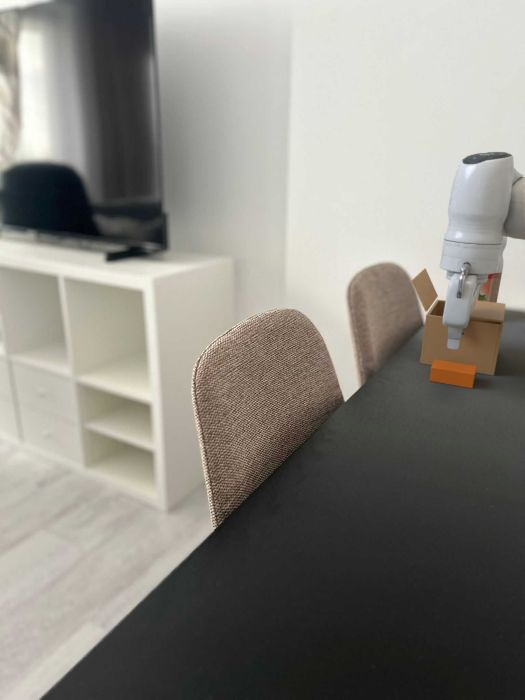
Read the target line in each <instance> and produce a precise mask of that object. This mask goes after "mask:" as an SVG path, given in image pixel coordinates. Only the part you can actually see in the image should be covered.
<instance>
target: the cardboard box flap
mask: <svg viewBox="0 0 525 700" xmlns="http://www.w3.org/2000/svg"><path fill="white" fill-rule="evenodd" d="M411 283H412V285H413V287H414V289H415V292H416V294H417V296H418V298H419V300H420V303H421V306H422V308H423V309H424V312H429V310H430V309H431V308H432V306H433V305H434V303H435V302H436V300H437V298H438V297H439V296H438V293H437V291H436V288H435V286H434V284H433V281H432V279H431V277H430V275H429V273H428V270H427V268H423V269H422V270H421V271H420V272H419V273H418V274H417V275H416V276H414V278H412V279H411Z"/></svg>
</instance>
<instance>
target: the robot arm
mask: <svg viewBox="0 0 525 700" xmlns="http://www.w3.org/2000/svg"><path fill="white" fill-rule="evenodd" d="M514 163H515V162H514V155H513V154H511V153H509V152H505V151H489V152H488V151H487V152H479V153H473V154H470V155H467V156H466V157H464V158H462V159H461V160H460V162H459V164H458V166H457V168H456V171H455V174H454V178H453V181H452V185H451V190H450V195H449V199H448V206H447V215H448V224H447V229H446V231H445V233H444V235H443V241H442V248H441V254H440V260H439V261H440V262H439V268H440V269H441V270H444V271H446V276H445V278H446V280H449V283H448V286H447V292H446V297H445V301H446V302H445V308H444V314H443V325H444V326H447V327H448V343H447V347H448V348H449V349H454V350H457V349H458V348H459V345H460V340H461V335H463V334H464V333H465V329H466V327H467V325H468V322H469V320H470V317H471V315H472V312H473V310H474V307H475V305H476V302H477V300H478V297H479V294H480V291H481V288H482V284H483V283H486V282H487V279H488V278H487V277H488V274H495V273H497V271H498V265H499V260H500V255H501V249H502V244H503V236H505V237H507V238H511V239H515V240H523V241H525V175H524V174H522V173H521V172H520V171H518V170H517V169H516V167H514V166H515V165H514Z"/></svg>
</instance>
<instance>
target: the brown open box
mask: <svg viewBox="0 0 525 700" xmlns="http://www.w3.org/2000/svg"><path fill="white" fill-rule="evenodd" d="M445 302H446V300H443V299H436V300H435V301H434V302H433V304H432V305H431V307H430V308H429V309H428V311H427V313H426V315H425V319H424V320H425V321H424V328H423V335H422V343H421V351H420V358H419V364H421V365H422V364H423V365H428V366H432V365H433V363H434V361H435V359H436V360H443V361H449V362H455V363H461V364H467V365H473V366H477V367H476V373H475V374H482V375H488V376H493V377H495V371H496V367H497V366H496V365H497V361H498V355H499V350H500V344H501V339H502V333H503V328H504V321H505V313H506V303H503V302H497V303H495V302H486V301H477V302H476V305H475V307H474V310H473V312H472V315H471V317H470V320H469V322H468V325H467V327H466V329H465V333H464V334H463V335H461V340H460V345H459V348H458V349H457V350H454V349H449V348H448V347H447V343H448V327H447V326H444V325H443V314H444V308H445Z"/></svg>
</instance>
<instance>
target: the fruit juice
mask: <svg viewBox="0 0 525 700" xmlns="http://www.w3.org/2000/svg"><path fill="white" fill-rule="evenodd" d="M507 244H508V237H505V236H503V244H502V249H501V255H500V260H499V265H498V271H497V273H495V274H488V277H487V278H488V279H487V282H486V283H483V284H482V288H481V291H480V294H479V297H478V300H477V301H486V302H495V303H498V298H499V292H500V287H501V281H502V276H503V275H502V274H503V271H504V256H503V254H504V252H505V249H506V247H507Z"/></svg>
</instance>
